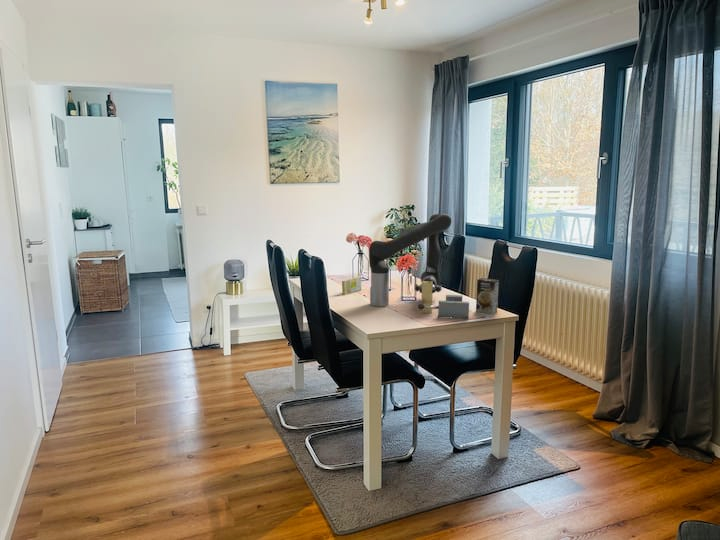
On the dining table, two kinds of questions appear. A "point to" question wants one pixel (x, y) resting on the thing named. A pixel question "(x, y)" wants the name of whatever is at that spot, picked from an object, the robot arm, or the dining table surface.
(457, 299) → the moving jaw
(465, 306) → the vise
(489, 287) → the coffee box
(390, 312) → the dining table surface
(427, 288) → the brass block
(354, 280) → the candy box
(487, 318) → the dining table surface
